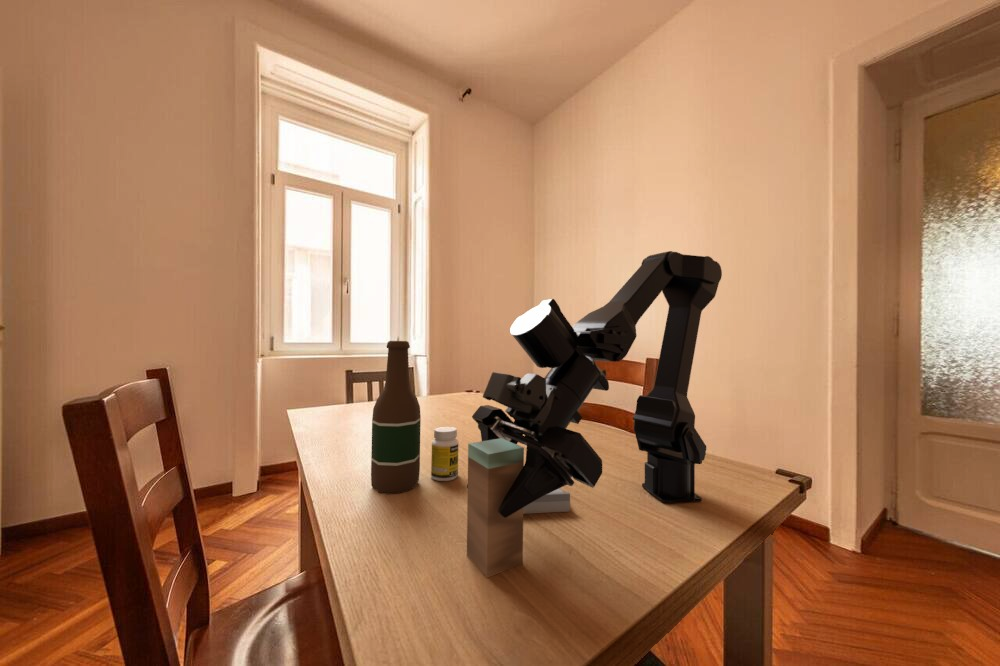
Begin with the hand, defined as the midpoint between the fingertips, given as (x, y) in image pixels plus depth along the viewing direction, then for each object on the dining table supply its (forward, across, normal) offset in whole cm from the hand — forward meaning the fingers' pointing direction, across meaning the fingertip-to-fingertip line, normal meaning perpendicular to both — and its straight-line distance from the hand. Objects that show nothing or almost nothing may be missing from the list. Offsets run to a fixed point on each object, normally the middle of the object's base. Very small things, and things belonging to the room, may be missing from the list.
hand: (484, 501), depth 39 cm
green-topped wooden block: (+4, 0, +6) cm, 7 cm away
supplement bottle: (0, -25, +9) cm, 27 cm away
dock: (-4, -11, +14) cm, 18 cm away
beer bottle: (+6, -26, +3) cm, 27 cm away
